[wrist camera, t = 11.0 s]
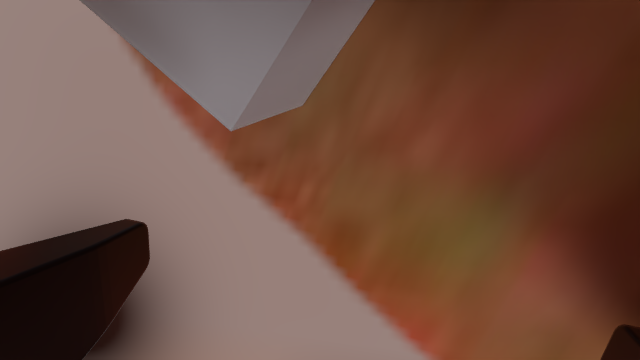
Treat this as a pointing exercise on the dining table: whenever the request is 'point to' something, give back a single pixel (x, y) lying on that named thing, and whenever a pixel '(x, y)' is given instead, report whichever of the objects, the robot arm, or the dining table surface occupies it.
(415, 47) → the dining table surface
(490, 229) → the dining table surface
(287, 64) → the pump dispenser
